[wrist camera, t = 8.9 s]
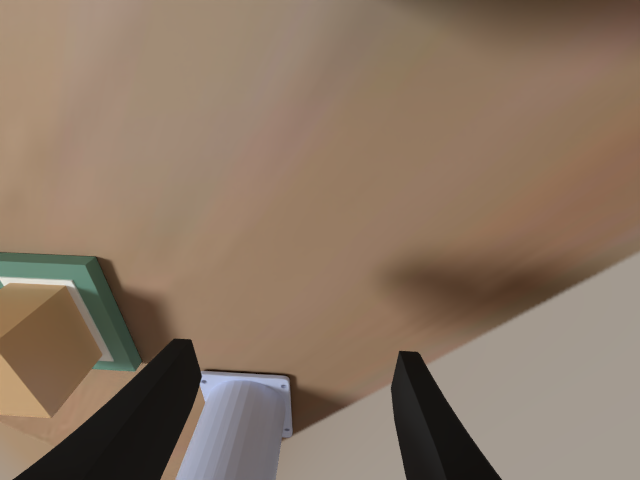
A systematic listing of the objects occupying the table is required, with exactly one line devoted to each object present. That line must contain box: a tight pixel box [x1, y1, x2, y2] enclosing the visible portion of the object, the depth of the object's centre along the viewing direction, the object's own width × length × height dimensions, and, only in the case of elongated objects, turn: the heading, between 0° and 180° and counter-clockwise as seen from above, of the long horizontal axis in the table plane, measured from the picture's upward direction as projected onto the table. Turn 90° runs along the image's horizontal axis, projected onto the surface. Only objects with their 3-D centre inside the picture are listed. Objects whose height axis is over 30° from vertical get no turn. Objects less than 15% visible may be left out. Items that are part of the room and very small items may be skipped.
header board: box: [0, 252, 142, 371], centre depth 22 cm, size 11×8×4 cm
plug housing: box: [0, 283, 103, 418], centre depth 20 cm, size 7×4×5 cm, turn 179°
